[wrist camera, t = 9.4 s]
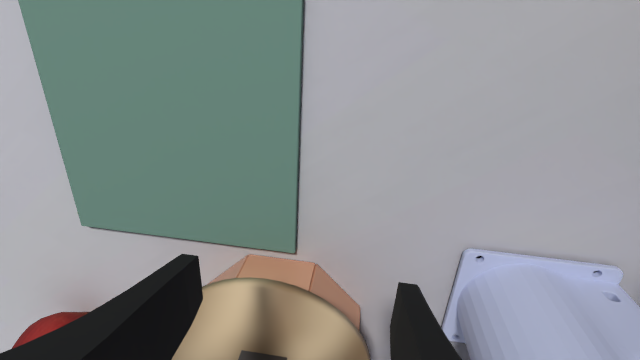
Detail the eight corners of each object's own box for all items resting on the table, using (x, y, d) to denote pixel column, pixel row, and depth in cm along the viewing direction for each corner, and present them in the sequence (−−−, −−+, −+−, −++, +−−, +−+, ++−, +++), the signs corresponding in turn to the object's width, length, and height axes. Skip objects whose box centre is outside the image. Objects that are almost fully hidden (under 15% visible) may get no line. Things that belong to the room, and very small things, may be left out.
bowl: (365, 269, 24) (364, 312, 21) (349, 381, 30) (346, 431, 26) (202, 248, 26) (174, 285, 22) (214, 359, 31) (193, 404, 27)
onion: (106, 348, 32) (30, 443, 25) (51, 313, 31) (-45, 402, 24) (134, 318, 30) (59, 412, 23) (75, 279, 29) (-23, 365, 22)
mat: (303, -9, 18) (302, -9, 17) (296, 249, 24) (294, 253, 24) (19, -24, 19) (11, -25, 19) (86, 222, 26) (81, 225, 26)
